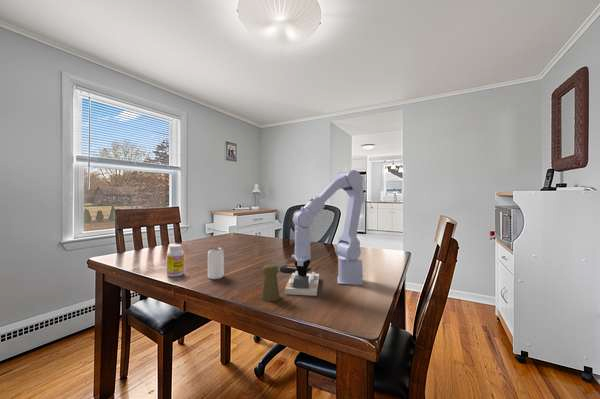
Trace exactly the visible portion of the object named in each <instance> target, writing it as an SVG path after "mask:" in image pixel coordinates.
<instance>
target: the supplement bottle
mask: <svg viewBox="0 0 600 399" xmlns="http://www.w3.org/2000/svg"><path fill="white" fill-rule="evenodd" d="M182 245H183V244H178V243H177V244H171V245H169V251H168V252H167V253H166V276H168V277H170V278H171V277H179V276H182V275H183V274H185V273H184V272H185V269H184V268H185V267H184V266H185V251H183V250H182V247H183V246H182Z"/></svg>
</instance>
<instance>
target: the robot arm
mask: <svg viewBox="0 0 600 399" xmlns="http://www.w3.org/2000/svg"><path fill="white" fill-rule="evenodd" d="M363 180H364V177H363V176H362V174H361V173H360V172H359V171H358V170H355V169H353V170H350V171H349V170H348V171H342V172H341V171H340V172H338V173H337V174H336V175H335V176H334V177H333V178H332V180H331V181H330V182H329V184H327V185H326V187H325V188H324V189H323V190H322V191H321V193H320V194H319V195H318V196H316V195H315V196H311V197H310V198H309V199H308V202H307V203H306V204H305V205H304V206H301V208H300V210H299V211H296V212H295V213H294V214H293V216H292V219H291V220H292V223H293V225H294V254H291V258H292V259H293V258H294V259H295V261H294V262H293V264H295V266H296V268H297V271H298V276H306V275H307V273H308V269H309V268H308V266H310V265H311V260H310V259H311V258H312V256H311V226H312V225H313V223H314V219H315V218H316V217H317V215H319V213H320V212H322V210H324V209H325V206H326V205H325V204H326V202H327V201H328V200H329V199H330V198H331V197H332V196H333V195H334V194H336V193H337V191H339V190H343V191H345V192H346V194H347V195H348V202H347V208H346V211H345V212H346V214H345V220H344V224H343V225H344V226H343V230H342V234H341V235H339V237H338V240H337V242H336V244H335V246H334V251H335V254H336V255H337V259H338V260H337V261H338V263H337V264H338V267H337V268H338V273H337V274H338V276H336V279H337V281H336V282H337V284H338V285H354V286H355V285H356V286H357V285H358V286H363V277H364V276H363V274H364V273H363V261H362V259H359V258H360V256H361V253H362V251H361V241H360V239H359V238H358V237H357V236H358V228H359V222H360V217H361V212H362V211H361V210H362V205H363V200H364V189H363Z"/></svg>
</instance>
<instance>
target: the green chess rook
mask: <svg viewBox="0 0 600 399" xmlns="http://www.w3.org/2000/svg"><path fill="white" fill-rule="evenodd" d="M278 272H279V267H278V266H277V264H274V263H273V264H272V263H269V264H265V265H264V266H263V268H262V274H263V276H264V277H263V283H262V292H261V300H263V301H264V302H265V301H266V302H274V301H277V300H279V299H280V293H279V292H280V291H279V285H278V277H277V275H278Z"/></svg>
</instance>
